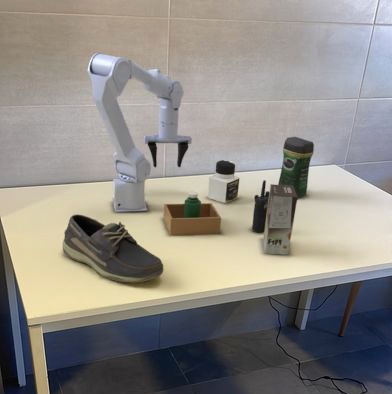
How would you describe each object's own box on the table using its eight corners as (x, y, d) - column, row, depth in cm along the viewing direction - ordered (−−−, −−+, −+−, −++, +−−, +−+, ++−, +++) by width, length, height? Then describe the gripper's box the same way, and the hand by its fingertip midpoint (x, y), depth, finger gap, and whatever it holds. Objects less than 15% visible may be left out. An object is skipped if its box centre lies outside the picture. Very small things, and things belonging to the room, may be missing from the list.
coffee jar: (309, 196, 183) (319, 140, 174) (294, 200, 179) (303, 143, 169) (288, 187, 189) (297, 133, 180) (273, 191, 185) (280, 136, 175)
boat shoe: (144, 294, 121) (145, 251, 115) (48, 257, 133) (45, 216, 128) (171, 276, 129) (173, 234, 123) (79, 242, 141) (77, 203, 136)
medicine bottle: (225, 203, 172) (229, 166, 166) (207, 198, 175) (210, 161, 169) (237, 198, 177) (241, 162, 171) (219, 192, 180) (223, 157, 174)
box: (170, 235, 149) (170, 219, 147) (163, 219, 158) (163, 203, 156) (219, 233, 152) (221, 217, 150) (210, 217, 161) (211, 203, 159)
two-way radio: (258, 234, 153) (265, 182, 146) (245, 229, 156) (251, 178, 148) (269, 229, 157) (276, 178, 149) (257, 224, 159) (263, 174, 152)
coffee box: (288, 255, 143) (298, 197, 134) (264, 253, 143) (272, 195, 134) (285, 240, 151) (294, 185, 142) (262, 239, 150) (269, 183, 142)
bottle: (185, 228, 152) (186, 196, 148) (181, 221, 156) (183, 190, 151) (201, 227, 153) (203, 195, 149) (197, 221, 157) (199, 190, 152)
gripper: (189, 119, 169) (186, 162, 176) (142, 118, 165) (142, 162, 172) (194, 124, 163) (191, 169, 170) (146, 124, 160) (145, 169, 167)
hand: (166, 166), depth 171 cm, fingers open, 7 cm apart
